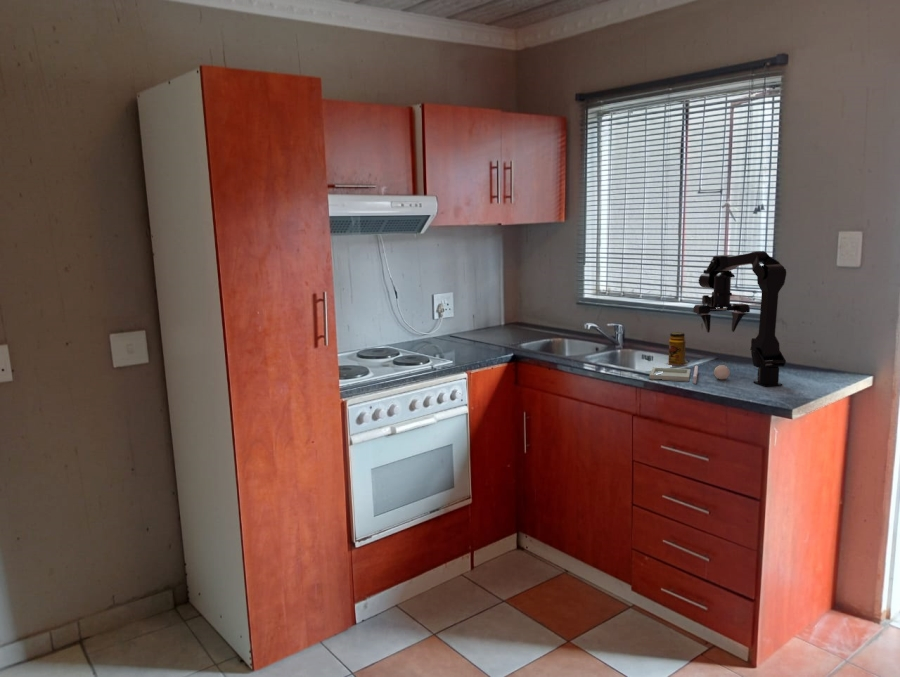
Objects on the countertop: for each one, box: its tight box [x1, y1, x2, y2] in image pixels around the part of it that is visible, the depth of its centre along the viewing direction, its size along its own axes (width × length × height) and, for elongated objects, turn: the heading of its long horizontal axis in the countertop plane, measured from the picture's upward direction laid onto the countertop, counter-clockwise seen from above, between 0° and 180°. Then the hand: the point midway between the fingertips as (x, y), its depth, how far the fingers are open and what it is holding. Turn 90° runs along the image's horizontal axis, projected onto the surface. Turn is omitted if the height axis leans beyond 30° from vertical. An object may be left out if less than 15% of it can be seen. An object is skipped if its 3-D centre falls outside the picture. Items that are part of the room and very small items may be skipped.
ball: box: [713, 364, 731, 380], centre depth 237 cm, size 5×5×5 cm
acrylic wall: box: [692, 365, 699, 384], centre depth 240 cm, size 18×1×2 cm, turn 159°
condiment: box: [666, 331, 689, 367], centre depth 264 cm, size 7×8×12 cm
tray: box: [649, 367, 691, 382], centre depth 243 cm, size 13×13×2 cm
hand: (720, 332), depth 251 cm, fingers open, 9 cm apart
